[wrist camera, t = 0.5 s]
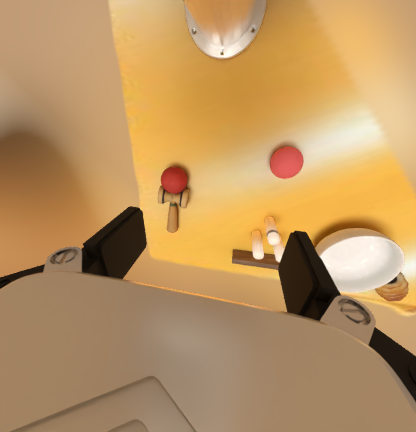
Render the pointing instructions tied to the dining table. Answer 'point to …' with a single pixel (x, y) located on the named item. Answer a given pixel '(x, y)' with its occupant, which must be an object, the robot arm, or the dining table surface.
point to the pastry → (394, 289)
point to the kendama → (173, 194)
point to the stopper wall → (248, 259)
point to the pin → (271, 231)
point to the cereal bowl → (360, 259)
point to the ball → (286, 162)
